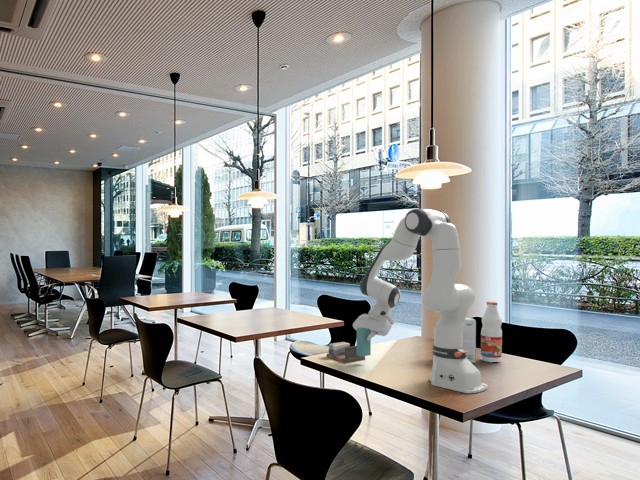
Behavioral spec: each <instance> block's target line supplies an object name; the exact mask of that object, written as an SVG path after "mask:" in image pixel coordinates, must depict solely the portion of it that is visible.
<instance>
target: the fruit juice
mask: <svg viewBox="0 0 640 480" xmlns="http://www.w3.org/2000/svg"><path fill="white" fill-rule="evenodd" d="M498 305H499V304H498V301H491V300H490V301H486V306H487V307H486V309H485V312H484V314H483V315H482V317H481V323H482V327H481V331H480V360H481V361H482V362H486V363H492V362H498V363H501V362H502V360H503V359H502V356H503V354H502V353H503V351H502V350H503V347H502V346H503V330H502V324H503V319H502V317H501V316H500V313H499V310H498Z"/></svg>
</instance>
